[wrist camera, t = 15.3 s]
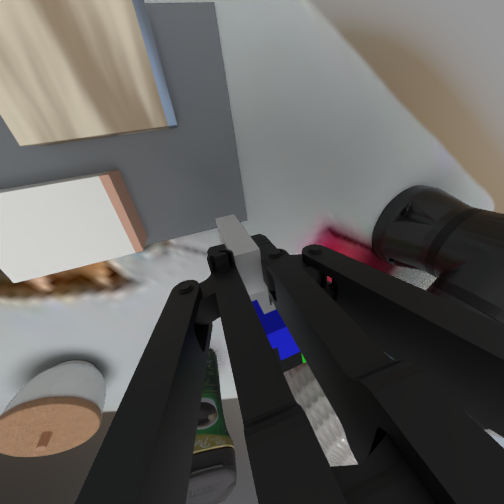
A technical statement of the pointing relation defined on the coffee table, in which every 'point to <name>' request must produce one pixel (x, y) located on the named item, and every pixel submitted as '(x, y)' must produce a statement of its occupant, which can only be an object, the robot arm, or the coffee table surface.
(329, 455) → the vase
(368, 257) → the coffee table surface
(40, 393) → the lidded jar
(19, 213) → the cream slab
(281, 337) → the puzzle toy
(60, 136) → the oak slab
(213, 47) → the mat
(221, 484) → the coffee jar
